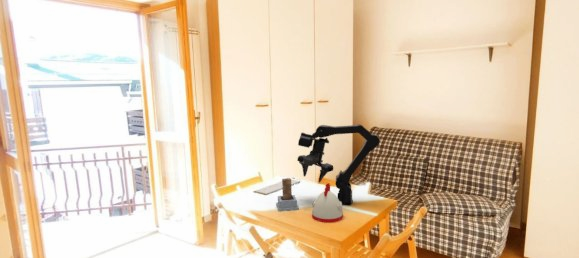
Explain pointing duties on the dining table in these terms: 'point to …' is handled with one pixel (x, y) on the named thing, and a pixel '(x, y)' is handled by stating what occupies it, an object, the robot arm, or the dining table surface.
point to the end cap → (287, 204)
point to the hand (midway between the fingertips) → (311, 179)
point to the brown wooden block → (287, 189)
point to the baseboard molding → (274, 187)
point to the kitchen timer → (327, 207)
